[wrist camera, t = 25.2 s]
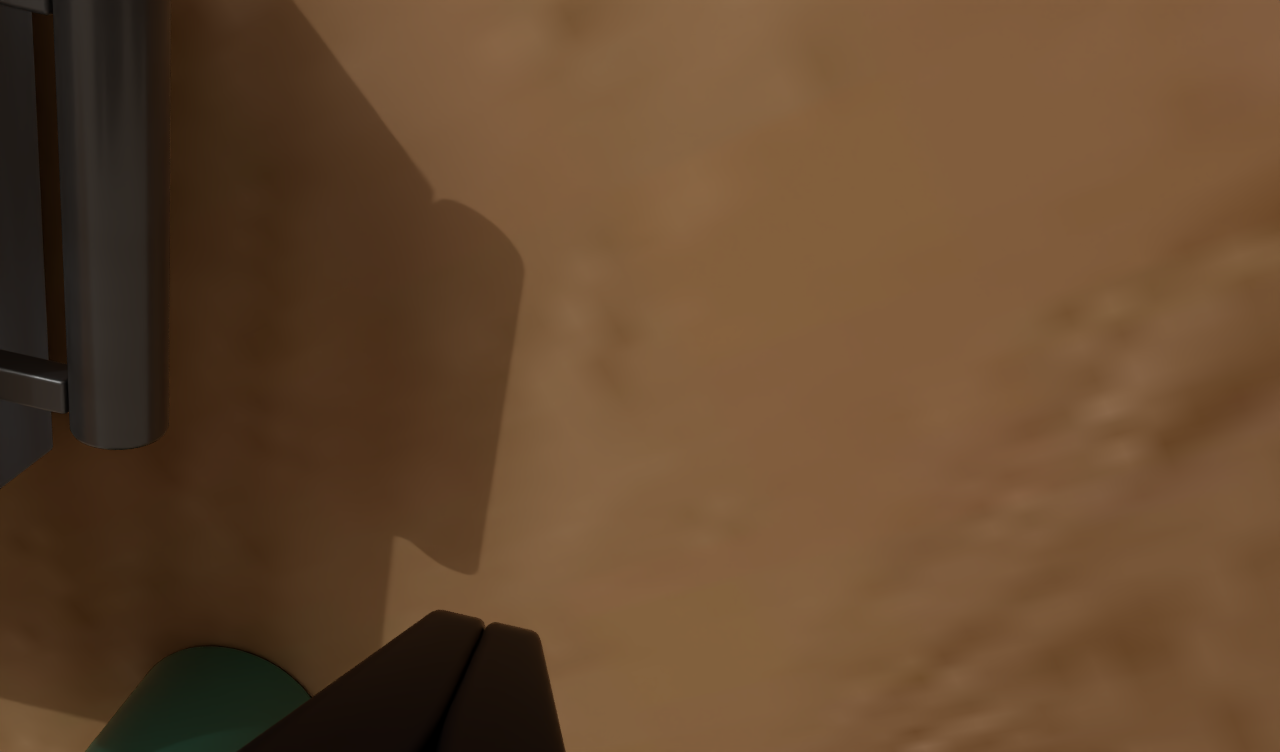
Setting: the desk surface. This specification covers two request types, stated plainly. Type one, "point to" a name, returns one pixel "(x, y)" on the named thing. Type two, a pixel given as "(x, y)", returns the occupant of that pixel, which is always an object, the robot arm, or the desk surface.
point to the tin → (201, 704)
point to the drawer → (87, 228)
